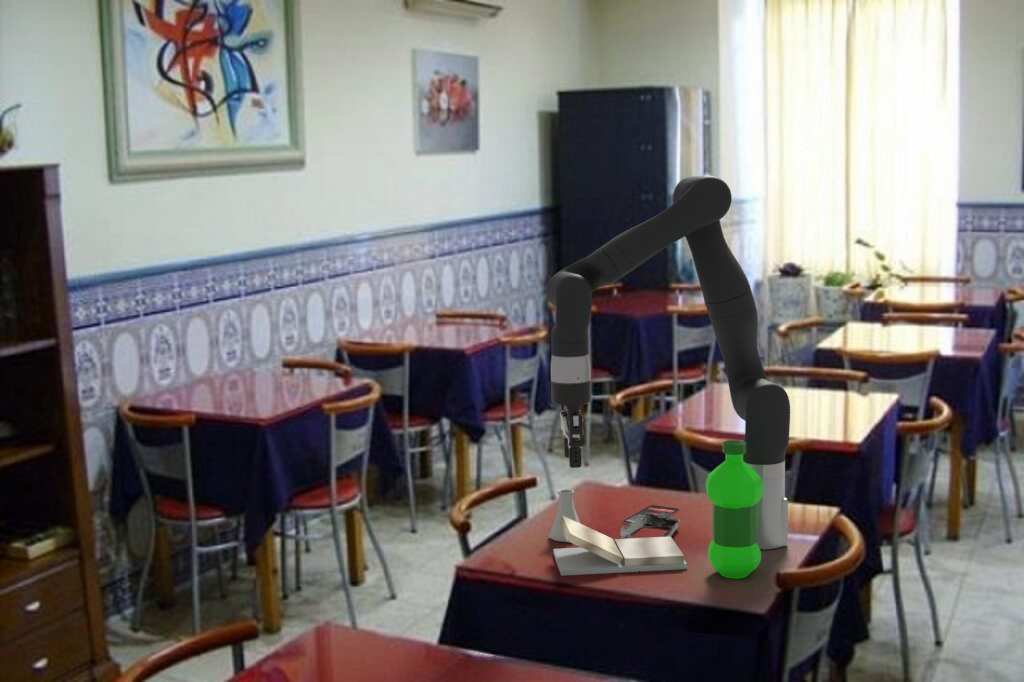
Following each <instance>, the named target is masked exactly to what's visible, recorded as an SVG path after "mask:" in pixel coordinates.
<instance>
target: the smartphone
mask: <svg viewBox="0 0 1024 682" xmlns="http://www.w3.org/2000/svg"><path fill="white" fill-rule="evenodd" d="M679 512H680V508H676V507H668V506H661V505H654V504H651V505H647V506H646V507H644V508H643V509H641V510H639V511H638V512H635V513H634V514H632V515H631V516H629V517H627V518H625V519H624V520H622V521H621V524H622V525H627V526H629V524H630V523H631V522H634V521H635V520H636V519H637V518H641V521H642V519H643V517H645V514H646V513H652V514H655V515H656V516H659V517H660V518H662V517H664V518H669V519H670V518H671V517H672V516H673V515H675V514H676V513H679ZM654 527H656V526H655V525H651V524H645V525H643V527H642V528H651V529H652V528H654Z"/></svg>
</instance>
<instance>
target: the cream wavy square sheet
mask: <svg viewBox="0 0 1024 682" xmlns="http://www.w3.org/2000/svg"><path fill="white" fill-rule="evenodd" d="M559 523H560V526H561V528H562V530H563V533H564V535H565V538H566V540H567V541H569V542H568V543H570V544H573V545H575V546H577V547H578V548H581V547H582V548H584V549H586V550H588V551H590V552H592V553H595V554H597V555H599V556H601V557H603V558H605V559H608V560H610V561H612V562H614V563H616V564H618V565H620V563H621V561H622V559H623V557H622V555H621V553H620V552H619V550H618V548H617V546H616V544H615V542H614V539H613V537H610V536H607V535H605V534H604V533H601V532H599V531H597V530H595V529H592V528H591V527H589V526H586V525H584V524H582V523H581V522H580V523H578V522H576V521H573V520H571V519H569V518H567V517H565V516H563V515H562V517H561V519H560V521H559Z"/></svg>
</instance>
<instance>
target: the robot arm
mask: <svg viewBox="0 0 1024 682" xmlns="http://www.w3.org/2000/svg"><path fill="white" fill-rule="evenodd" d="M731 204H732V191H731V189H730V186H729V185H728V184H727V182H725V181H724V180H723V179H721V178H719V177H716V176H714V175H691V176H686V177H684V178H682V179H681V180H680V181H679V182H678V183H677V184H676V185H675V188H674V190H673V193H672V204H671V205H670V206H669V207H667V208H665V209H664V210H662V212H660V213H659V214H657V215H655V216H653V217H651V218H650V219H647V220H645V221H643V222H641V223H639V224H637V225H636V226H634V227H631V228H629V229H627V230H624V231H623V232H622V233H619V234H618V235H616V236H615V237H613V238H612V239H610V240H608V241H607V242H606V243H605V244H603V245H602V246H600V247H599V248H597V249H596V250H594V251H593V252H592V253H590V254H589V255H587V256H585V257H584V258H582V259H580V260H577V261H576V262H574V263H572V264H570V265H568V266H566V267H564V268H563V269H560V270H559V271H558V272H556V273H555V274H554V275H553V276H552V277H551V278H550V279H549V281H548V282H547V284H546V288H545V293H546V297H547V299H548V301H549V302H550V303H551V304H552V305H553V306H554V307H556V308H555V309H556V311H555V314H556V315H555V325H553V327H552V329H551V337H550V339H551V340H550V341H551V344H550V346H551V360H550V387H551V388H550V389H551V391H550V393H551V394H550V397H551V403H552V404H554V405H557V406H560V409H561V410H560V412H559V417H560V429H561V430H560V431H561V432H562V437H563V455H564V457H565V458H566V459H568V458H569V459H568V462H569V463H568V464H569V468H571V469H578V468H581V467H582V448H583V447H584V443H585V442H584V426H583V425H584V424H583V422H584V414H583V413H582V410H580V406H582V405H587V404H589V403H591V401H592V384H591V383H592V382H591V381H592V380H591V378H592V377H591V376H592V375H591V374H592V373H591V361H590V352H589V351H590V350H589V345H590V344H589V325H590V322H591V321H590V320H591V313H592V306H593V292H595V291H596V290H598V289H599V288H601V287H607V286H610V285H612V284H614V283H616V282H618V281H619V280H621V279H622V278H623V277H625V276H626V275H628V274H629V273H630V272H632V271H634V270H635V269H636V268H638V267H640V266H641V265H642V264H644V263H646V261H648V260H649V259H650V258H652V257H653V256H655V255H657V254H658V253H659V252H660V253H661V251H662V250H664V249H666V248H668V247H669V246H671V245H672V244H674V243H676V242H677V241H679V240H681V239H683V238H685V240H686V242H687V244H688V247H689V249H690V253H691V256H692V260H693V264H694V268H695V271H696V275H697V278H698V282H699V285H700V289H701V293H702V296H703V297H702V298H703V300H704V304H705V308H706V311H707V314H708V316H709V320H710V323H711V326H712V329H713V332H714V336H715V338H716V342H717V345H718V349H719V352H720V353H721V356H722V359H723V364H724V367H725V372H726V373H725V374H726V377H727V382H728V388H729V394H730V398H731V399H730V400H731V404H732V407H733V410H734V412H735V413H736V414H737V416H738V417H739V418H740V419H742V420H743V421H744V424H745V425H744V440H743V441H744V442H746V453H745V454H743V461H744V462H745V463H747V464H748V465H749V466H750V467H751V468H752V469H753V470H754V471H755V472H757V473H758V475H759V476H760V477H761V480H762V482H763V495H762V499H761V500H760V501H759V502H758V503H757V504H756V543H757V544H758V546H759V549H760V550H773V549H779V548H781V547H788V546H789V541H788V540H789V526H788V525H789V500H788V498H787V497H786V495H785V494H786V491H785V490H786V471H785V470H786V451H787V450H788V447H789V443H790V442H789V441H790V430H791V429H790V428H791V427H790V425H791V403H790V399H789V395H788V393H787V391H786V390H785V389H784V387H782V386H781V385H779V384H778V383H775V382H773V381H770V380H769V378H768V377H767V374H766V373H765V369H764V367H763V363H762V361H761V357H760V354H759V350H758V349H759V348H758V329H759V327H758V326H759V325H758V324H759V322H758V320H759V319H758V318H759V317H758V310H757V309H758V308H757V306H756V302H755V299H754V298H755V297H754V295H753V292H752V288H751V285H750V282H749V279H748V277H747V276H746V273H745V271H744V269H743V268H742V266H741V265H740V264H739V263H740V262H739V261H738V260H737V258H736V257H735V255H734V253H733V252H732V251H731V248H730V247H729V245H728V243H727V241H726V239H725V236H724V232H723V228H722V225H721V219H723V218H724V217H725V216H726V215H727V213H728V212H729V210H730V208H731V206H732V205H731ZM576 438H577V440H576Z"/></svg>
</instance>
